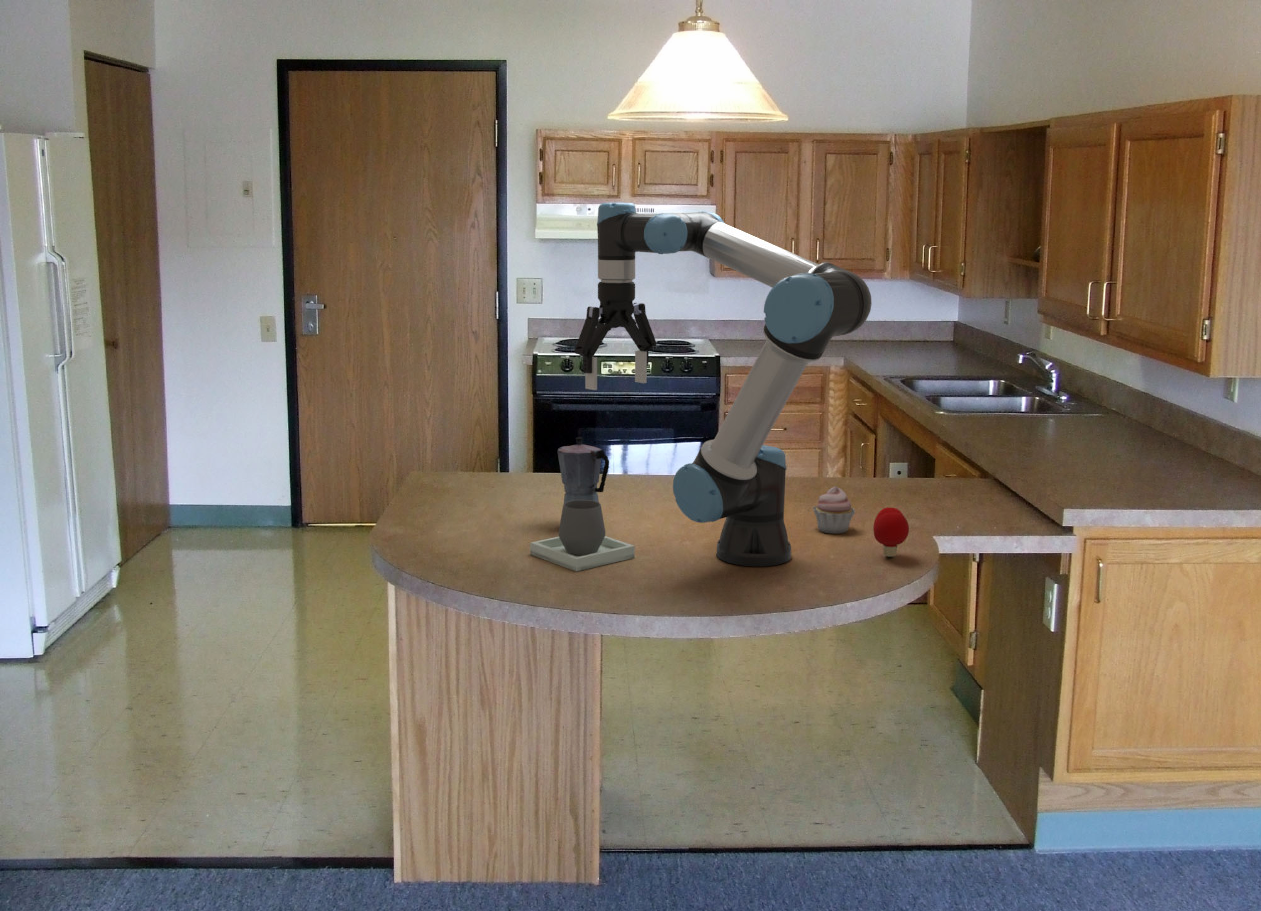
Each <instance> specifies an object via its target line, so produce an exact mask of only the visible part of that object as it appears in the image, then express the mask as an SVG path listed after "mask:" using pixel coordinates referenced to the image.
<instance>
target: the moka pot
mask: <svg viewBox="0 0 1261 911" xmlns="http://www.w3.org/2000/svg"><path fill="white" fill-rule="evenodd" d="M575 440H576V441H575V442H576V444H573V445H566V446H565V445H564V446H561V447H559V448H558V449H557V456H558V457H557V458H558V462H559V463H558V464H559V470H560V476H561V483H562V484H563V486H564V487H563V488H564V492H565V493H564V498H563V504H564V503H565V502H568V501H572V500H591V501H596V502H599V501H600V500H599V494H598V493H603V492H604V490H605V485H606V481H607V475H608V474H609V473H608V472H609V468H610V460H609V458H608V455H606V454H605V451H604V449H601V448H598V447H597V446H592V445H587V444H583V441H584V440H583V437H581V436H578V437H575ZM602 460H603V461H604V465H603V468H602V469H603V471H602V474H601V479H600V472H601V461H602ZM599 482H600V483H599ZM598 483H599V486H598ZM599 503H600V502H599Z"/></svg>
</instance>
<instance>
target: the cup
mask: <svg viewBox="0 0 1261 911" xmlns="http://www.w3.org/2000/svg"><path fill="white" fill-rule="evenodd" d="M605 526H606V525H605V520H604V515H603V509H602V504H601V503H600V502H596V501H591V500H572V501H568V502H565V503H564V502H563V504H562V510H561V516H560V523H559V527H558V537H559V538H560V540H561V542H562V544H563V546H564V548H565V549H566V551H567V552H568V553H570V554H573V555H580V556H582V555H589V554H593V553H596V552H597V551H598V549H599V547H600V545H601V543H602V541H603V539H604V537H605V536H606V528H605Z"/></svg>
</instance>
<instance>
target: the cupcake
mask: <svg viewBox="0 0 1261 911" xmlns="http://www.w3.org/2000/svg"><path fill="white" fill-rule="evenodd" d="M812 510H813V513H814V515H815V517H816V524H817V529H818V530H819V532H822V533H825V534H829V535H832V534H833V535H837V534H839V535H840V534H845V533H847V532H848V530H849V528H850V525H851V524H850V523H851V520H852V519H853V516H854V515H855V514H856V510H855V508H854V507H852V503H851V501H850V499H849V498H848V495H847V494H846V492H845V491H844V490H843V489H842V488H840V487H837V486H834V487H831V488H830V489H828V490H827V491H826V493H825V494H824V493H823V494H821V495H820V496H819V497H818V500H817V504H816V506H812Z"/></svg>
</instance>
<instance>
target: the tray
mask: <svg viewBox="0 0 1261 911" xmlns="http://www.w3.org/2000/svg"><path fill="white" fill-rule="evenodd" d="M529 544H530V545H529V546H530V547H529V548H530V553H529V554H530V555H531V556H534V557H536V558H539V559H542V560H544V561H548V562H550V563H553V564H555V565H558V566H560V567H563V568H566V569H568V570H571V571H574V572H580V571H584V570H588V569H589V570H590V569H592V568H593V569H594V568H597V567H601V566H605V565H609V564H613V563H617V562H621V561H627V560H631V559H635V553H636V552H635V549H636V548H635V547H636V546H635V545H633V544H630V543H627V542H626V541H625V542H624V541H621V540H618V539H616V538H613V537H609V536H607V535H605V537H604V539H603V541H602V543H601V545H600V547H599V549H598V551H597V552H596V553H593V554H589V555H582V556H580V555H573V554H570V553H568V552H567V551H566V549H565V548H564V546H563V544H562V542H561V540H560V538H559V536H555V537H550V538H545V539H541V540H536V541H532V542H530V543H529Z"/></svg>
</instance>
